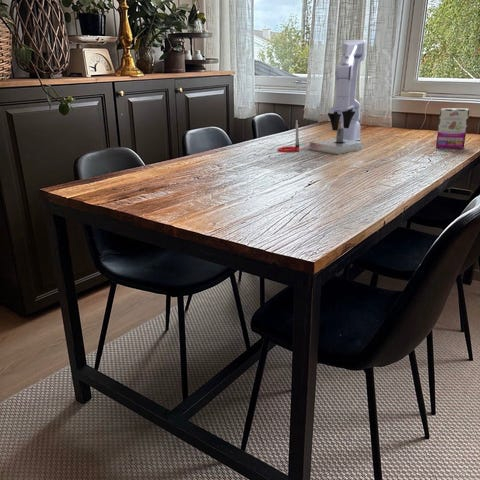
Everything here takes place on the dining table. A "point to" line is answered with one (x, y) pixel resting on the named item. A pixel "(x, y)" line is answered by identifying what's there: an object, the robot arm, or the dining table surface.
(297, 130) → the tow hook
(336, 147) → the bore block
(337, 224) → the dining table surface
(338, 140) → the pin
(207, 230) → the dining table surface
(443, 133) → the candy bar box
